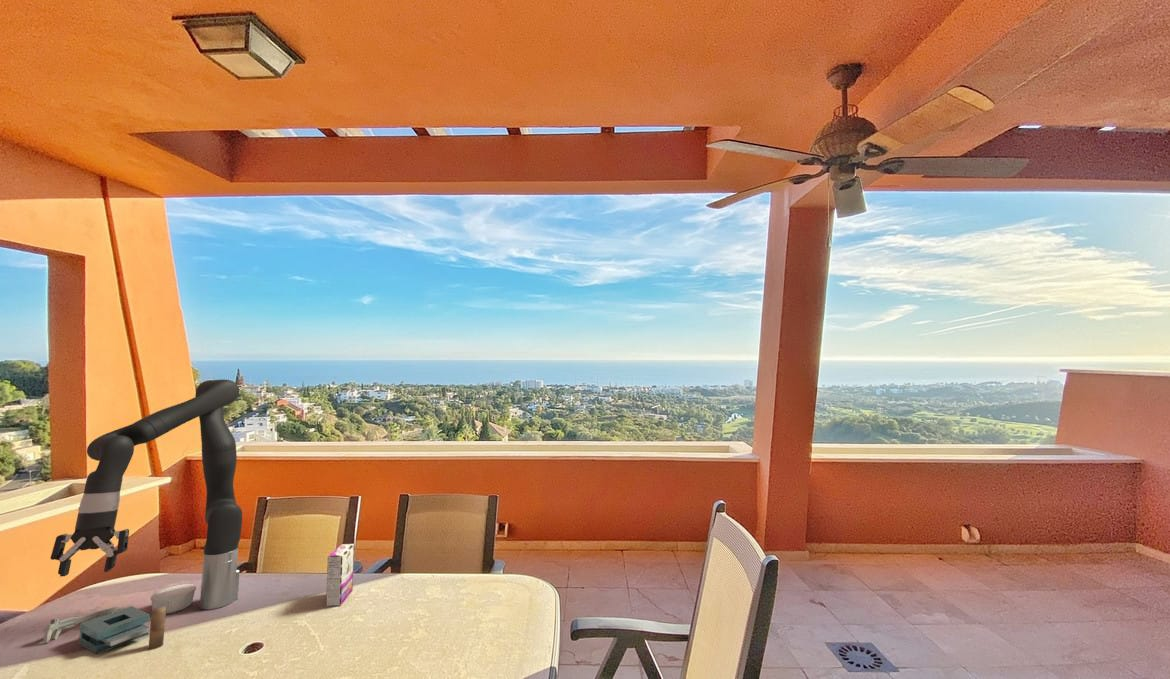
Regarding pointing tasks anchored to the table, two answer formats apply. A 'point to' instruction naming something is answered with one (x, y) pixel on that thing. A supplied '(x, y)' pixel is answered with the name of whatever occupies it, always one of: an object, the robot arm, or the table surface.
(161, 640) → the pin
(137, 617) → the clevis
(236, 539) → the robot arm
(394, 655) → the table surface
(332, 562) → the candy bar box
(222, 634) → the table surface
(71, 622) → the caliper
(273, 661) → the table surface
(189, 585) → the ramekin
